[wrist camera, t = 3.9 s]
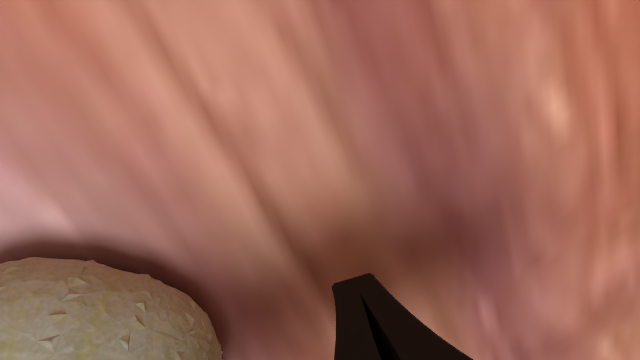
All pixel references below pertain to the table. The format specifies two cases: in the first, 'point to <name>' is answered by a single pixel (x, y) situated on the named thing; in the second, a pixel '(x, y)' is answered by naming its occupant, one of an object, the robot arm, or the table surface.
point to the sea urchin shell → (97, 315)
